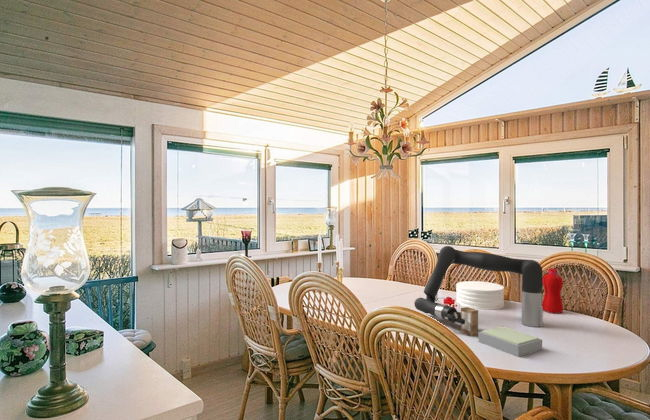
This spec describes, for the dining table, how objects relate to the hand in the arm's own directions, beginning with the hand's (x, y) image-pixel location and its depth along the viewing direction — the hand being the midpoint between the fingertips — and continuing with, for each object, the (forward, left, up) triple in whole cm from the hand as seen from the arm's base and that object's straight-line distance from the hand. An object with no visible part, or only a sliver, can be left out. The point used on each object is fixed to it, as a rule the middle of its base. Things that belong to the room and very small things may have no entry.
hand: (470, 320), depth 189 cm
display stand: (-15, +11, -7) cm, 20 cm away
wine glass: (+17, -65, -7) cm, 67 cm away
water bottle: (-49, -53, -7) cm, 73 cm away
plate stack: (-9, -62, -7) cm, 64 cm away
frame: (+1, -1, -7) cm, 7 cm away
